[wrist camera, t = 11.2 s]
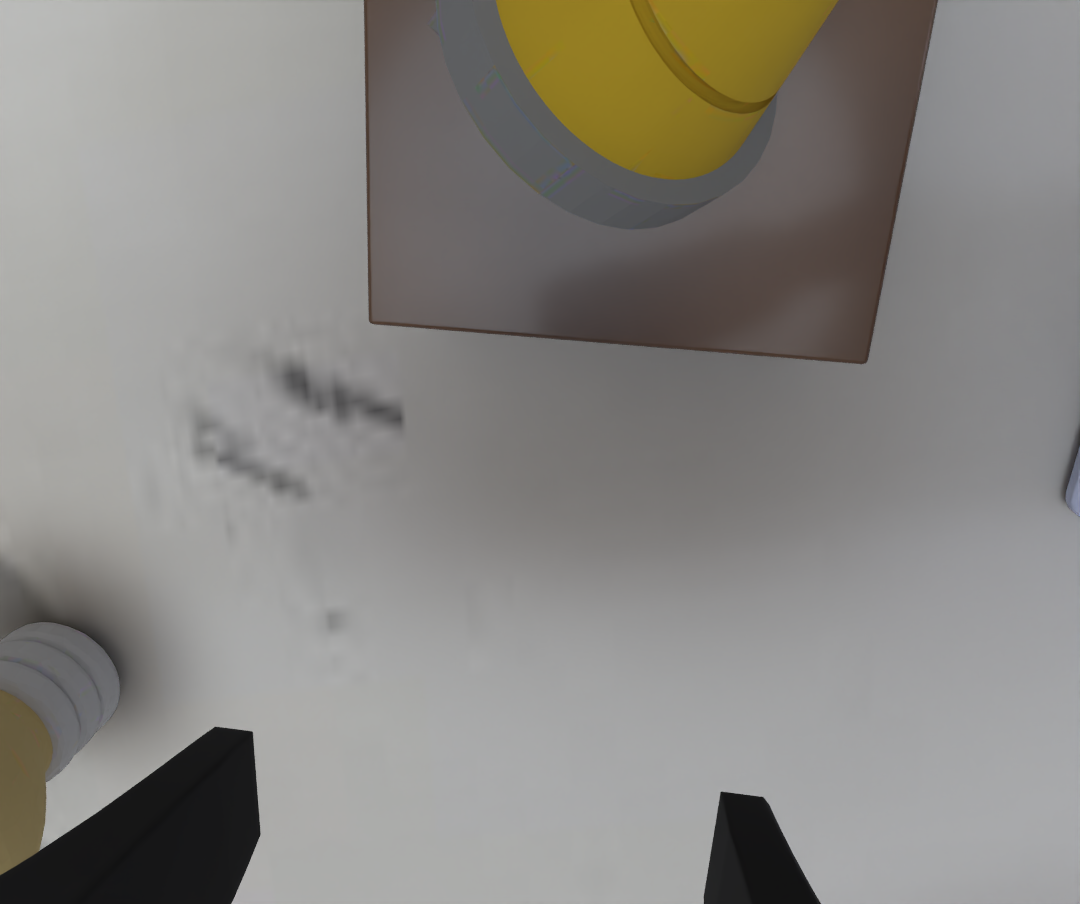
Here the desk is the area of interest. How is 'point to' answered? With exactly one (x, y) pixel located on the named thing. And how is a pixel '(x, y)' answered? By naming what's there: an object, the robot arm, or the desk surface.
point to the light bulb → (45, 722)
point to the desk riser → (654, 253)
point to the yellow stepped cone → (626, 94)
